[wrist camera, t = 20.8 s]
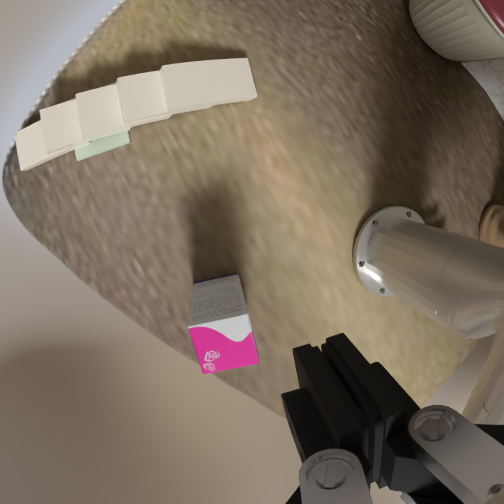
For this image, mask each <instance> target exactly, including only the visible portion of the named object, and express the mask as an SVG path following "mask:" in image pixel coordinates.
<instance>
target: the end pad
mask: <svg viewBox="0 0 504 504" xmlns="http://www.w3.org/2000/svg"><path fill="white" fill-rule="evenodd" d="M114 84H116V82H114V83H111V84H108V85H105V86H109V85H114ZM105 86H103V87H105ZM100 88H101V87H100ZM74 99H76V97H74V98H72V99H70V100H74ZM70 100H67V101H70ZM67 101H66V102H67ZM129 143H131V142H130V137H129V132H128V131H125V132H121V133H117V134H113V135H110V136H106V137H102V138H99V139H95V140H92V143H90V144H88V145H85V146H82V147H80V148H77V149H75V154H76V159H77V161H80V160H83V159H85V158H88V157H91V156H93V155H96V154H99V153H102V152H105V151H107V150H110V149H113V148H116V147H119V146H122V145H125V144H129Z"/></svg>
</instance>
